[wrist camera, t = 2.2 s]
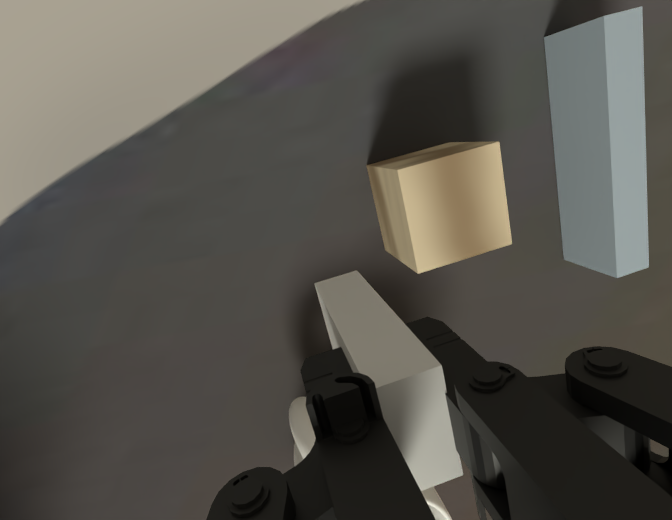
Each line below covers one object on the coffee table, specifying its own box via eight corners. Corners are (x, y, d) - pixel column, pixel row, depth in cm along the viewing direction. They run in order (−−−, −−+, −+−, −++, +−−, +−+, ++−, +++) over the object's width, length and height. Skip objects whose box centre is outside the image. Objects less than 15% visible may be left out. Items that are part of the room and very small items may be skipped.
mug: (239, 402, 31) (238, 520, 21) (333, 334, 31) (377, 421, 21) (330, 502, 35) (365, 641, 25) (413, 441, 35) (481, 556, 25)
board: (563, 259, 33) (617, 278, 29) (543, 37, 29) (603, 16, 24) (591, 250, 34) (648, 267, 29) (576, 28, 29) (642, 6, 24)
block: (384, 249, 30) (418, 273, 25) (366, 165, 28) (397, 170, 23) (462, 226, 31) (512, 244, 25) (449, 142, 29) (499, 141, 24)
